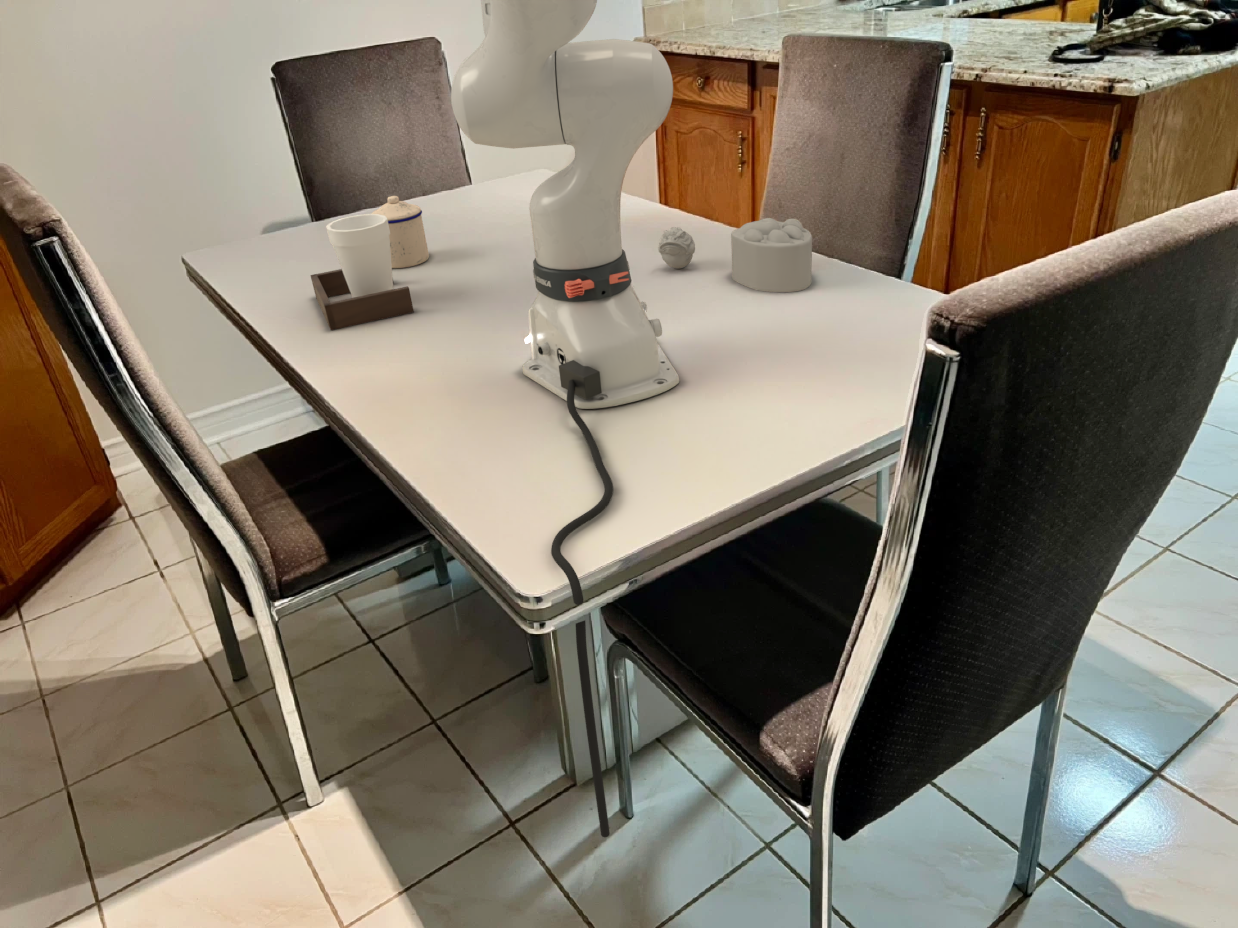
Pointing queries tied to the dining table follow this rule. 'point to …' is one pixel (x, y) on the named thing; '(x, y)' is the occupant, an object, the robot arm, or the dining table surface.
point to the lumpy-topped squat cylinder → (772, 255)
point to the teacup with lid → (405, 233)
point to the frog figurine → (676, 247)
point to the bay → (357, 301)
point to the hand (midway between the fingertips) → (519, 78)
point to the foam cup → (363, 252)
